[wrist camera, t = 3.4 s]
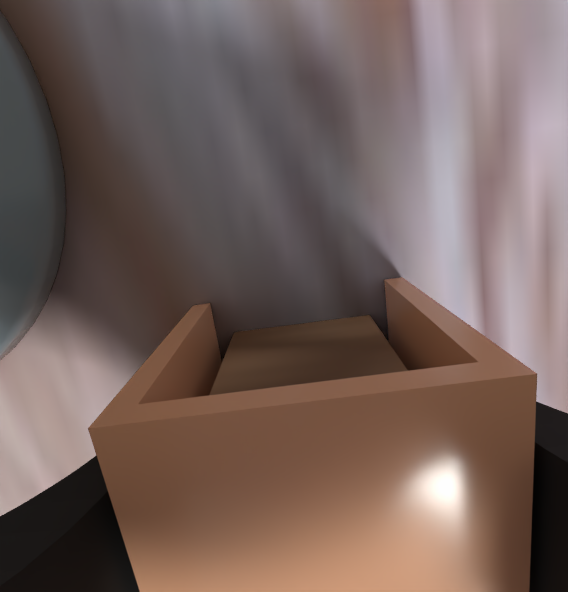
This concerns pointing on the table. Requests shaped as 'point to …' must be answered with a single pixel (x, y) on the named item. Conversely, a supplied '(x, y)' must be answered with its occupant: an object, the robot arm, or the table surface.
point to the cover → (327, 467)
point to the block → (305, 355)
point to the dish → (26, 194)
